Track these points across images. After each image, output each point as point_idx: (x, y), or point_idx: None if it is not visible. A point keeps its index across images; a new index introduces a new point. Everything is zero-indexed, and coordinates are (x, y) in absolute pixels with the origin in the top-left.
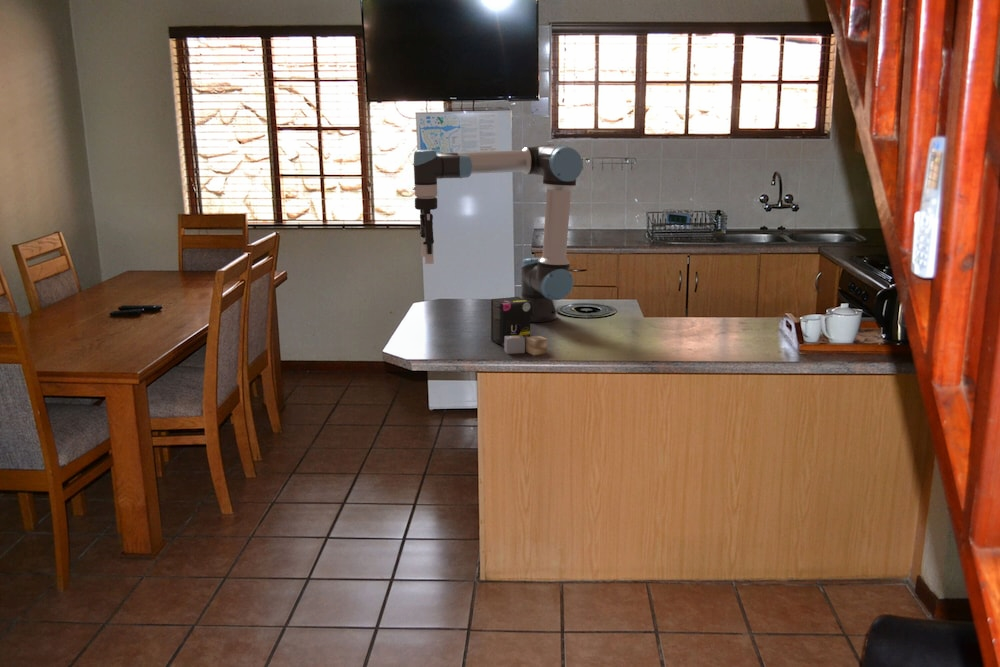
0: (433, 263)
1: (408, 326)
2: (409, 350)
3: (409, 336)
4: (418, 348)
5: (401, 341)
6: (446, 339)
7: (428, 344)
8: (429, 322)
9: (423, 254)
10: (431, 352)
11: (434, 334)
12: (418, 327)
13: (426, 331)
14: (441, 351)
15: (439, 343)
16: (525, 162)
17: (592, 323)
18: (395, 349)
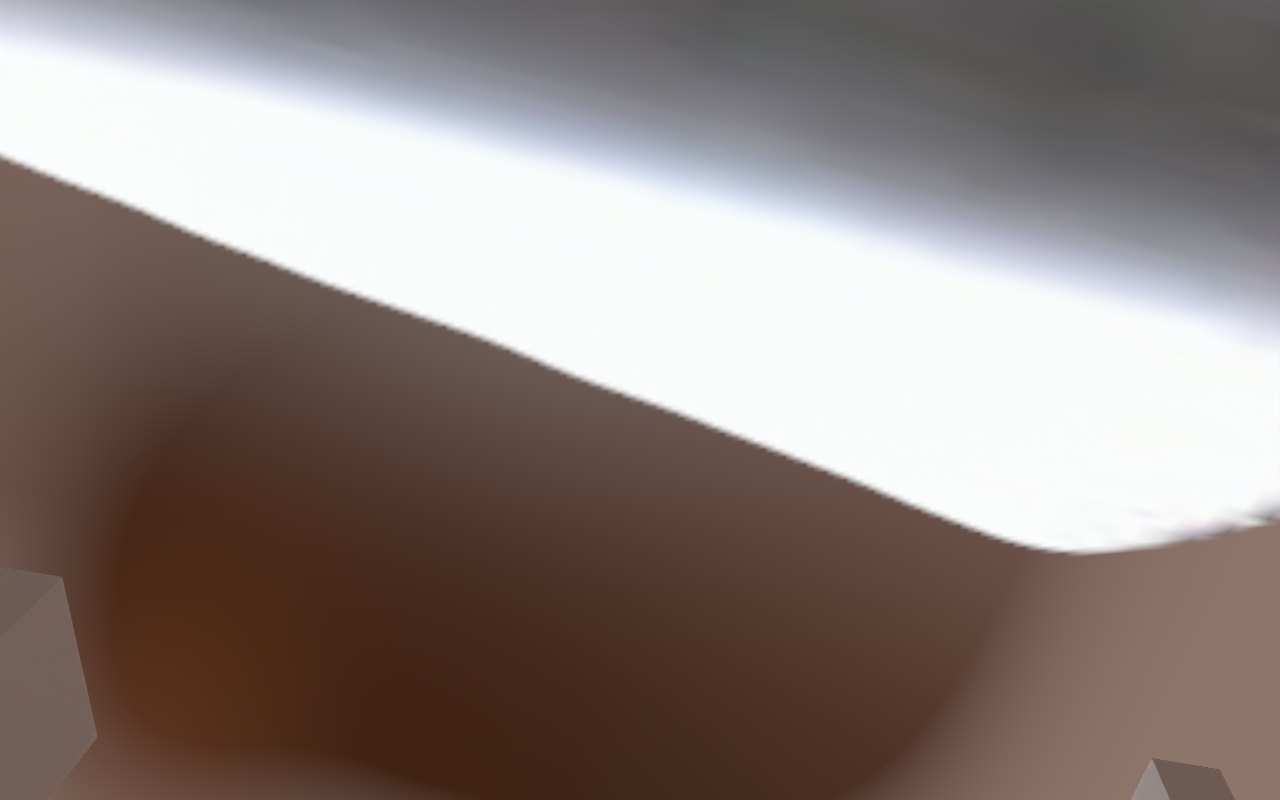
0: (1221, 773)
1: (289, 256)
2: (1069, 423)
3: (631, 325)
4: (1043, 345)
5: (771, 418)
6: (842, 19)
7: (953, 234)
8: (149, 28)
9: (52, 747)
10: (1227, 273)
11: (619, 92)
12: (333, 179)
13: (491, 141)
14: (1245, 179)
15: (961, 127)
16: None
17: None
18: (990, 509)
